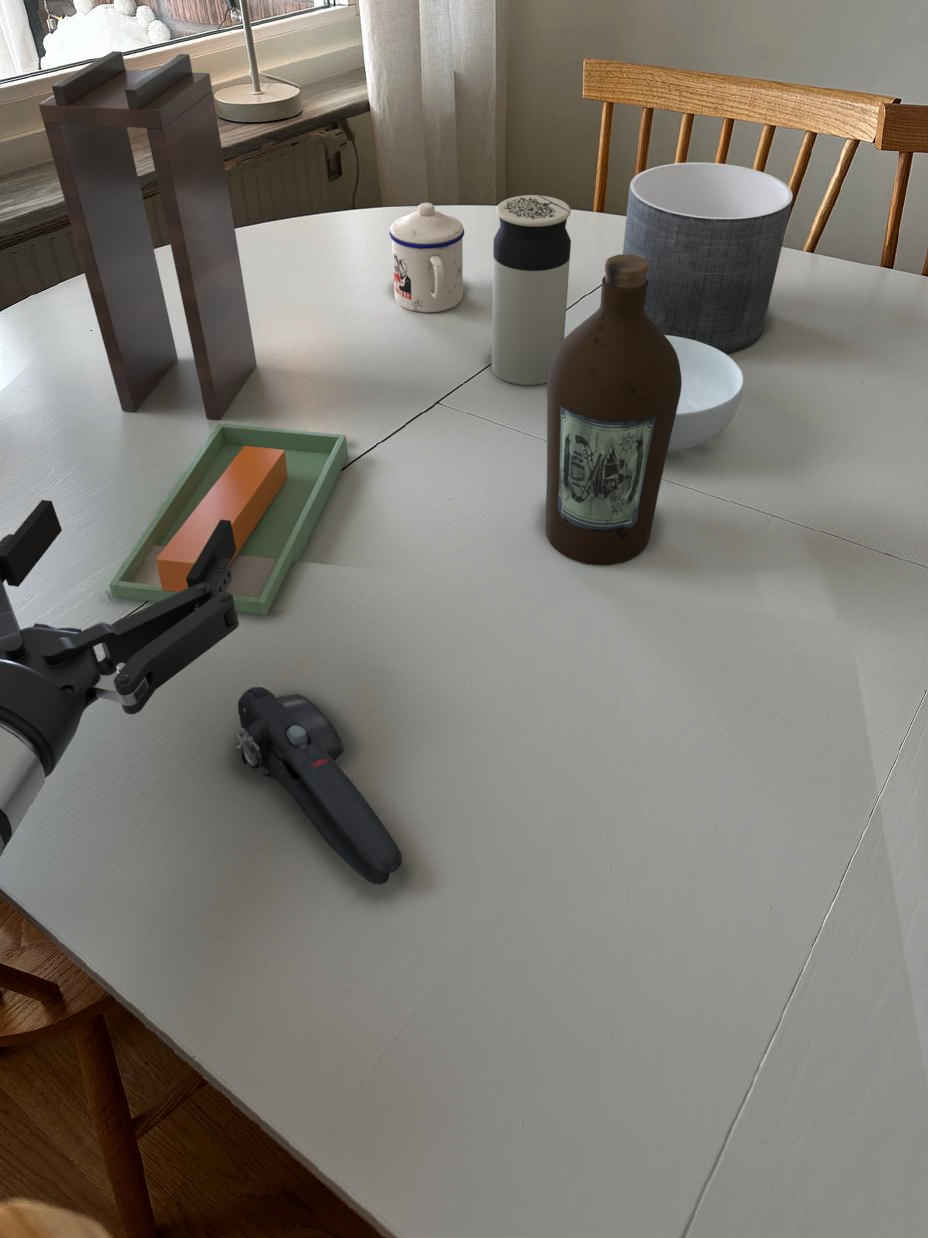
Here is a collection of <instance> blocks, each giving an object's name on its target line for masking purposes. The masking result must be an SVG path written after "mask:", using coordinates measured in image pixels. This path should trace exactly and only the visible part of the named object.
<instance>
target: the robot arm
mask: <svg viewBox="0 0 928 1238" xmlns="http://www.w3.org/2000/svg"><path fill="white" fill-rule="evenodd" d="M62 531H63V528H62V526H61V523H60V520H59V518H58V515H57V512H56V509H55V506H54V504H53V500H48V499H41V500H40V501H39V503H38V504H37V505H36V507H35V508H34V509H33V510H32V511H31V512H30V514H29V515H28V516H27V518H26V519H25V520H24V521H23V522H22V523H21V524H20V526H19V527H18V528H17V529H16V530H15V532H14V533H8V534H7V535H5V536H4V537H2V538H1V540H0V858H1V857H2V855H3V854H4V850H5V848H6V847H7V846H8V844H9V843H10V841H11V840H12V838H13V836H14V835H15V833H16V831H17V829H18V828H19V826H20V825H21V823H22V821H23V820H24V818H25V816H26V815H27V813H28V811H29V810H30V808H31V806H33V803H34V802H35V800H36V798H37V796H38V795H39V794H40V792H41V790H42V788H43V786H44V784H45V783H46V778H48V777H49V776H50V775H51V774H52V773H53V771H55V769H56V767H57V765H58V764H59V762H60V760H61V758H62V757H63V755H64V753H65V752H66V751H67V749H68V747H69V746H70V743H71V742H72V740H73V739H74V737H75V736H76V733H77V731H78V728H79V725H80V723H81V720H82V717H83V714H84V712H85V710H86V709H87V708H89V707H90V706H91V705H92V704H93V703H95V702H97V701H98V700H99V699H103V700H108V701H113V702H116V703H120V705H121V707H122V711H123V712H124V713H125V714H127V715H135V714H137V713H139V712H141V711H142V710H143V709H144V707H145V706H146V704H147V703H148V701H149V700H150V699H151V697H152V696H153V694H154V693H155V691H157V689H159V688H160V687H162V686H163V685H164V684H165V683H167V682H168V681H169V680H170V679H172V678H173V677H174V676H176V675H178V673H180V672H181V671H183V670H184V669H186V668H187V667H188V666H189V665H190V664H192V663H193V662H194V661H196V660H197V659H198V658H199V657H201V656H202V655H204V654H205V653H206V652H208V651H209V650H210V649H211V648H213V647H215V646H216V645H217V644H218V643H219V642H221V641H222V640H223V639H225V638H226V637H227V636H228V635H230V634H231V633H233V632H234V631H235V630H236V629H238V628H239V625H240V621H239V617H238V611H236V607H235V603H234V598H233V595H232V594H233V593H231V592H228V591H227V589H228V588H229V586H230V584H231V582H232V581H233V573H232V569H231V563H230V561H231V559H232V557H233V556H234V554H235V552H236V545H235V540H234V535H233V530H232V525H231V521H230V520H222V519H220V521H219V523H218V524H217V526H216V528H215V529H214V531H213V533H212V535H211V536H210V538H209V540H208V541H207V543H206V545H205V546H204V548H203V550H202V552H201V553H200V555H199V557H198V558H197V560H196V562H195V563H194V565H193V567H192V569H191V570H190V572H189V574H188V575H187V577H186V580H187V584H188V588H187V589H185V590H183V591H181V592H179V593H177V594H174V595H172V596H170V597H168V598H166V599H164V600H162V601H160V602H154V603H153V604H151V605H149V606H147V607H145V608H142V609H140V610H138V611H136V612H134V613H132V614H130V615H127V616H125V617H124V618H122V619H119V620H117V621H115V622H113V623H107V622H103V621H101V622H99V623H97V624H94V625H92V626H90V627H87V628H86V629H84V630H82V629H81V628H76V627H54V626H51V625H49V624H43V623H37V622H35V623H34V624H33V626H28V627H24V628H22V629H21V627H20V624H19V622H18V620H17V616H16V613H15V612H14V608H13V606H12V603H11V600H10V598H9V595H8V592H7V589H6V587H5V585H4V582H5V581H6V583H7V586H10V587H16V588H19V587H20V585H22V583H23V582H24V581H25V579H26V578H27V576H29V574H30V573H31V571H32V570H33V569H34V568H35V566H36V565H37V563H38V562H40V560H41V558H42V557H43V556H44V554H45V553H46V552H47V551H48V549H49V548H50V547H51V546H52V544H53V543H54V542H55V540H56V539H57V538H58V536H60V534H61V533H62ZM229 563H230V564H229ZM100 644H101V647H102V650H103V652H104V658H103V659H101V660H98V656H97V653H96V650H95V647H96V646H98V645H100Z"/></svg>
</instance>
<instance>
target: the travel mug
mask: <svg viewBox="0 0 928 1238" xmlns="http://www.w3.org/2000/svg"><path fill="white" fill-rule="evenodd" d="M571 213H572V209H571V207H570V205H569V204H568V203H566V202H565V201H563V200H561V199H559V198H556V197H553V196H547V195H537V194H530V195H529V194H528V195H527V194H526V195H518V196H513V197H509V198H507V199H505V200H502V201H501V202H500V203H498V205H497V207H496V214H497V216H498V218H499V228H498V230H497V231H496V234H495V235H494V237H493V251H492V252H493V253H492V254H493V255H492V257H493V259H492V310H491V311H492V313H491V314H492V315H491V316H492V318H491V370H492V373H493V374H494V375H495V376H496V377H498V378H499V379H501V380H502V381H505V382H508V383H511V384H514V385H518V384H519V386H536V384H538V385H543V384H545V383H547V379H548V373H549V368H550V365H551V362H552V360H553V357H554V355H555V353H556V350H557V349H558V347H559V345H560V344H561V342H562V341H563V340H564V339H565V333H566V319H567V305H568V304H567V303H568V292H569V291H568V289H569V277H570V262H571V261H570V260H571V247H572V240H571V237H570V235H569V232H568V230H567V228H566V227H567V222H568V219H569V217H570V216H571Z"/></svg>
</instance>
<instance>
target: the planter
mask: <svg viewBox="0 0 928 1238" xmlns="http://www.w3.org/2000/svg"><path fill="white" fill-rule="evenodd" d="M793 194H794V193H793V191H792V189H791V188H790V186H789V185H788V184H786V183H785V182H784V181H782V180H780V179H779V178H777V177H776V176H773V175H772V174H771V175H770V174H768V173H766V172H763V171H760V170H757V169H753V168H749V167H744V166H739V165H733V164H727V163H726V164H725V163H719V162H717V163H716V162H677V163H670V164H664V165H658V166H655V167H652V168H651V167H650V168H648V169H646V170H643V171H641V172H639V173H638V174H636V175H635V176H634V177H633V178H632V179H631V181H630V182H629V189H628V198H627V199H628V200H627V208H626V216H625V217H626V218H625V227H624V228H625V229H624V237H623V247H622V254H628V255H635V256H639V257H641V258H643V259H645V260H646V261H647V262H648V263H649V268H648V274H647V275H646V279H647V280H648V288H647V295H646V301H645V307H644V310H645V312H646V314H647V315H648V317H649V318H650V319H651V320H652V321H653V323H654V324H655V325H656V326H657V327H658V328H659V329H660V331H661V332H662V333H663V334H664V335H669V336H676V337H682V338H686V339H691V340H695V341H698V342H701V343H704V344H706V345H709V346H711V347H714V348H716V349H718V350H720V351H721V352H723V353H725V354H729V353H734V352H738V351H740V350H743V349H745V348H748V347H750V346H751V345H753V344H754V343H756V342H757V341H758V340H759V339H760V338H761V337H762V335H763V333H764V330H765V324H766V318H767V312H768V309H769V304H770V299H771V296H772V292H773V287H774V282H775V278H776V273H777V269H778V265H779V261H780V257H781V251H782V248H783V243H784V239H785V234H786V230H787V226H788V223H789V216H790V213H791V208H792V204H793V199H794V195H793Z"/></svg>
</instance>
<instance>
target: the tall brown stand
mask: <svg viewBox="0 0 928 1238" xmlns="http://www.w3.org/2000/svg"><path fill="white" fill-rule="evenodd" d="M212 87H213V86H212V80H211V74H210V73H209V72H193V68H192V62H191V57H190V54H188V53H179V54H177V55H176V56H174V57H172V58H171V59H169V60H167V61H166V62H165V63H163V64H162V65H160V66H158V67H157V68H155V69H153V70H144V69H127V67H126V63H125V58H124V54H123V51H119V50H118V51H117V50H112V51H111V52H108V53H107V54H105V55H104V56H102V57H100V58H98V59H97V60H95V61H93V62H91V63H89V64H88V65H86V66H85V67H83V68H81V69H80V70H77V71H76V72H74V73H72V74H70V75H68V76H67V77H65V78H63V79H61V80H60V81H58V82H56V83H55V84H53V85H51V90H52V93H53V95H52V96H50V97H49V98H47V99H45V100H44V101H42V102H41V103H38V108H39V111H40V116H41V119H42V122H43V126H44V130H45V134H46V137H47V141H48V145H49V149H50V152H51V155H52V160H53V164H54V167H55V171H56V174H57V178H58V181H59V184H60V189H61V193H62V196H63V200H64V203H65V206H66V207H65V208H66V211H67V213H68V217H69V222H70V225H71V229H72V233H73V236H74V240H75V243H76V247H77V251H78V254H79V258H80V262H81V266H82V269H83V272H84V276H85V277H84V278H85V280H86V284H87V287H88V291H89V295H90V298H91V302H92V305H93V309H94V313H95V316H96V320H97V324H98V327H99V332H100V335H101V339H102V342H103V345H104V350H105V353H106V356H107V360H108V364H109V368H110V371H111V375H112V378H113V383H114V386H115V390H116V392H117V393H116V394H117V397H118V401H119V404H120V408H121V411H122V412H129V413H130V412H131V413H135V412H136V411H137V410H138V409H139V408H140V407H141V405H143V403H144V401H146V399H147V398H148V397H149V396H150V394H151V393H152V392H153V391H154V389H156V387H157V385H158V384H159V383H160V382H161V381H162V379H163V378H164V377H165V376H166V374H167V373H168V372H169V371H170V369H171V368H172V367H173V366H174V365H175V363H176V362H177V361H178V359H179V357H178V353H177V347H176V343H175V339H174V335H173V330H172V326H171V321H170V316H169V311H168V308H167V302H166V298H165V293H164V289H163V285H162V280H161V276H160V271H159V267H158V266H159V265H158V262H157V257H156V252H155V248H154V244H153V239H152V235H151V230H150V226H149V221H148V216H147V211H146V208H145V203H144V199H143V193H142V189H141V185H140V180H139V176H138V171H137V167H136V162H135V158H134V153H133V149H132V144H131V139H130V136H129V135H130V134H129V131H128V128H131V129H133V128H134V129H146V133H147V138H148V143H149V147H150V153H151V158H152V162H153V163H152V164H153V167H154V172H155V177H156V181H157V186H158V192H159V197H160V202H161V206H162V210H163V215H164V216H163V217H164V220H165V225H166V230H167V234H168V239H169V243H170V244H169V245H170V248H171V253H172V259H173V264H174V268H175V273H176V277H177V283H178V288H179V292H180V297H181V302H182V306H183V311H184V312H183V313H184V316H185V321H186V327H187V332H188V336H189V341H190V344H191V350H192V354H193V359H194V365H195V369H196V374H197V379H198V383H199V388H200V393H201V397H202V398H201V399H202V402H203V403H202V404H203V407H204V412H205V416H206V419H207V420H215V421H217V420H218V421H220V420H222V417H224V414H225V413H226V412H227V410H228V409H229V407H230V406H231V404H232V403H233V402H234V400H235V398H236V397H237V396H238V394H239V392H240V391H241V390H242V388H243V387H244V385H245V384H246V382H247V381H248V379H249V378H250V376H251V375H252V373H253V372H254V371H255V369H256V367H257V366H258V364H257V357H256V353H255V346H254V340H253V333H252V327H251V321H250V314H249V309H248V303H247V295H246V290H245V283H244V278H243V277H244V276H243V271H242V266H241V260H240V259H241V258H240V254H239V246H238V240H237V235H236V229H235V222H234V215H233V210H232V202H231V197H230V191H229V185H228V178H227V173H226V165H225V160H224V159H225V158H224V155H223V153H224V152H223V146H222V141H221V134H220V130H219V123H218V117H217V110H216V104H215V98H214V93H213V88H212Z"/></svg>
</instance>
